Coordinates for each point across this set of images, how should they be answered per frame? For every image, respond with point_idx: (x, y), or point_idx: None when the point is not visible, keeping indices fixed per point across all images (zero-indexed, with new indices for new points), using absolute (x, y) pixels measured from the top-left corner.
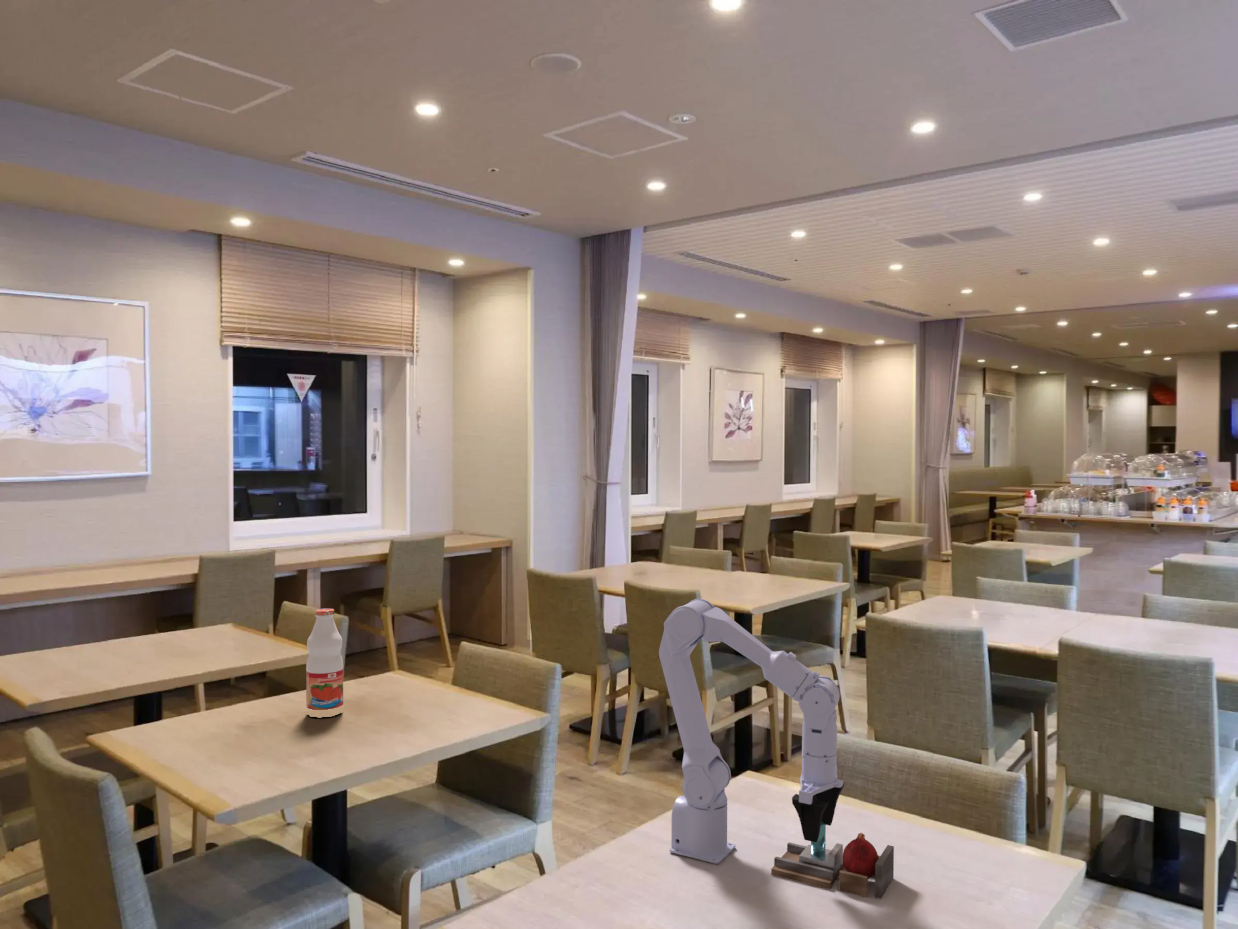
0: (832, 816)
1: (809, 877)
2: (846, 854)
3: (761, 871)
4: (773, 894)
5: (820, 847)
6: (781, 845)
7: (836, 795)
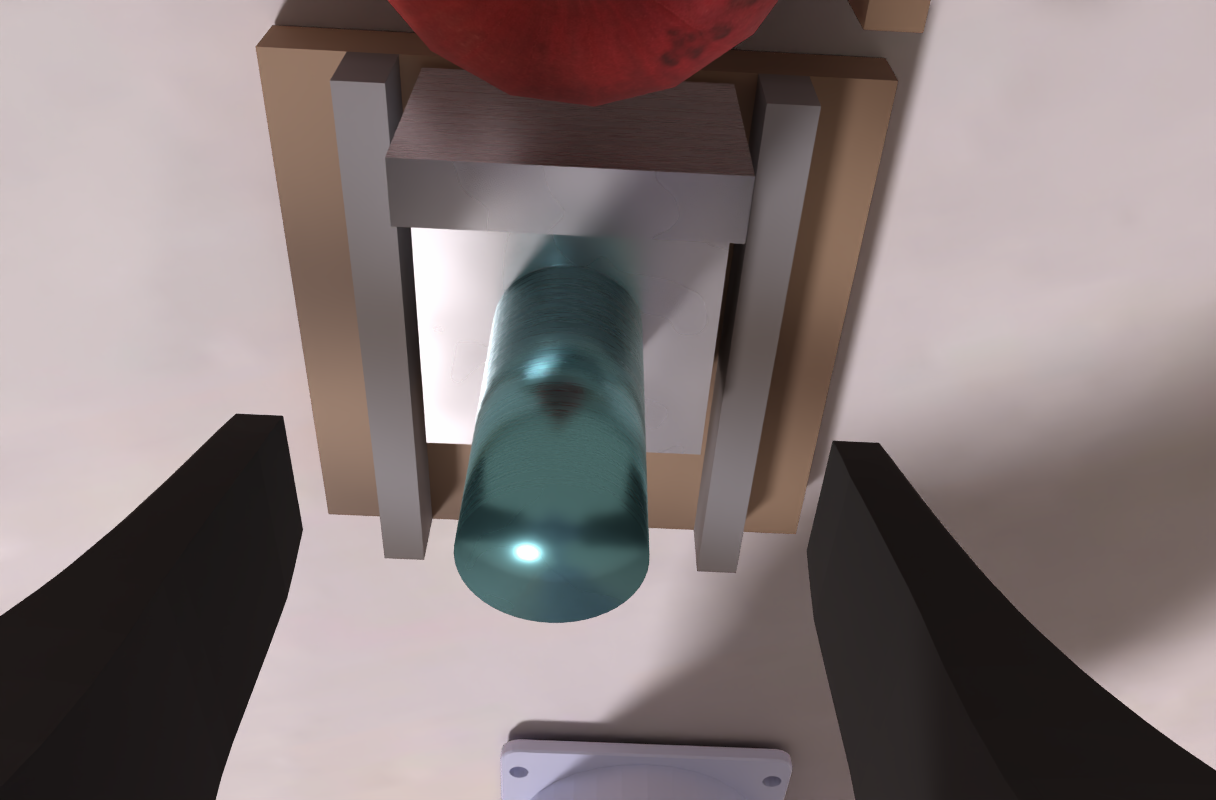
0: (232, 482)
1: (843, 273)
2: (738, 43)
3: (760, 558)
4: (1098, 420)
5: (634, 354)
6: None
7: (71, 735)
